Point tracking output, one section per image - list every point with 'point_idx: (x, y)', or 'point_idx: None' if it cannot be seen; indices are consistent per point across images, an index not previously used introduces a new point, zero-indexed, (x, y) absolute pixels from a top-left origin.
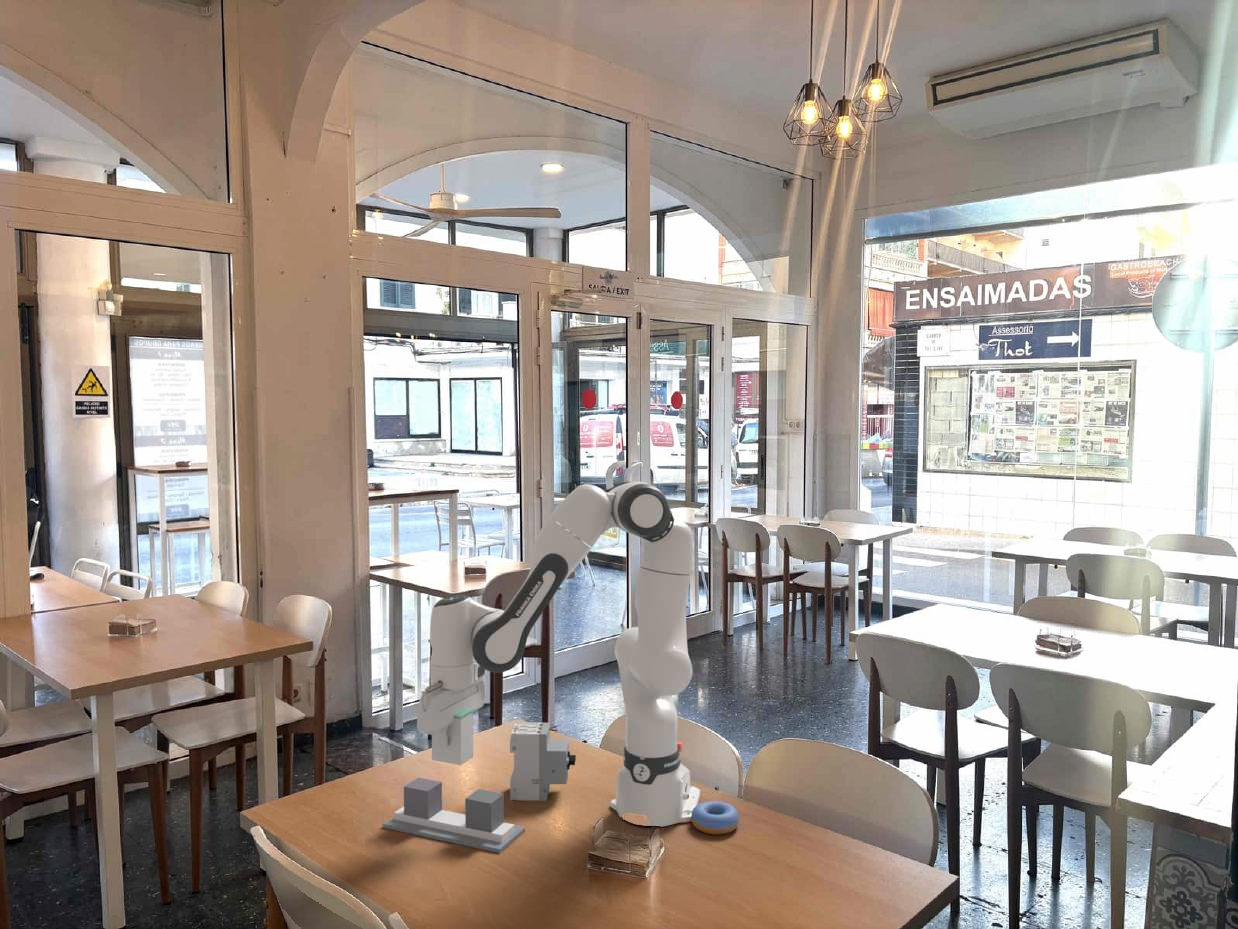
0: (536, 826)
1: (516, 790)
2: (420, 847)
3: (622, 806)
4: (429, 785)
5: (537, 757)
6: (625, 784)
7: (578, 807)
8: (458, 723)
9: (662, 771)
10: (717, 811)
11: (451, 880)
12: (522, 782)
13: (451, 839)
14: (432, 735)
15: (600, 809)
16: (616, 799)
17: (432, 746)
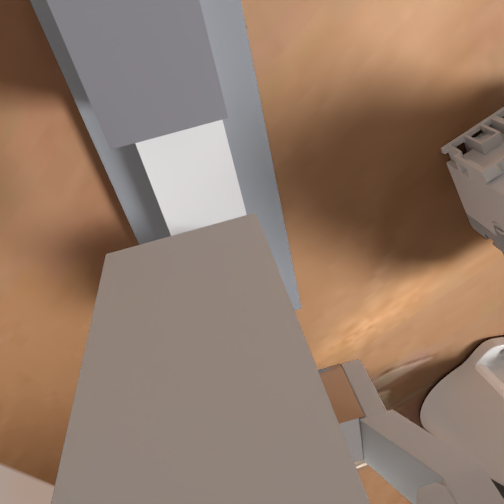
0: (334, 301)
1: (465, 175)
2: (40, 173)
3: (457, 398)
4: (159, 100)
5: None
6: (492, 441)
7: (460, 300)
8: None
9: None
10: None
11: (17, 350)
12: (487, 201)
13: (130, 225)
14: (76, 408)
15: (466, 334)
16: (485, 375)
17: (92, 325)
